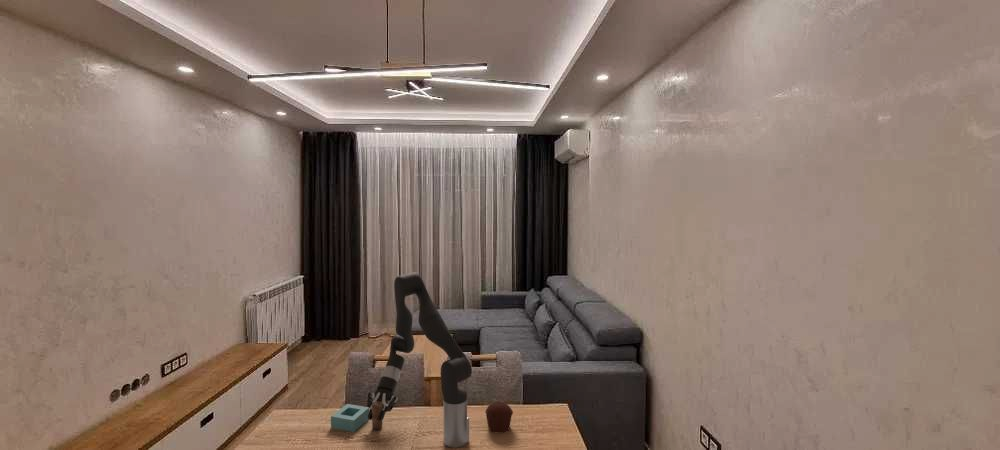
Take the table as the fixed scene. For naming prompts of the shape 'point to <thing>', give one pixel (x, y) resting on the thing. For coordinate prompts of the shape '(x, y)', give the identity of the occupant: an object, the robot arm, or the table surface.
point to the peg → (376, 415)
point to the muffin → (498, 416)
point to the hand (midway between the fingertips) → (374, 419)
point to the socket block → (349, 417)
